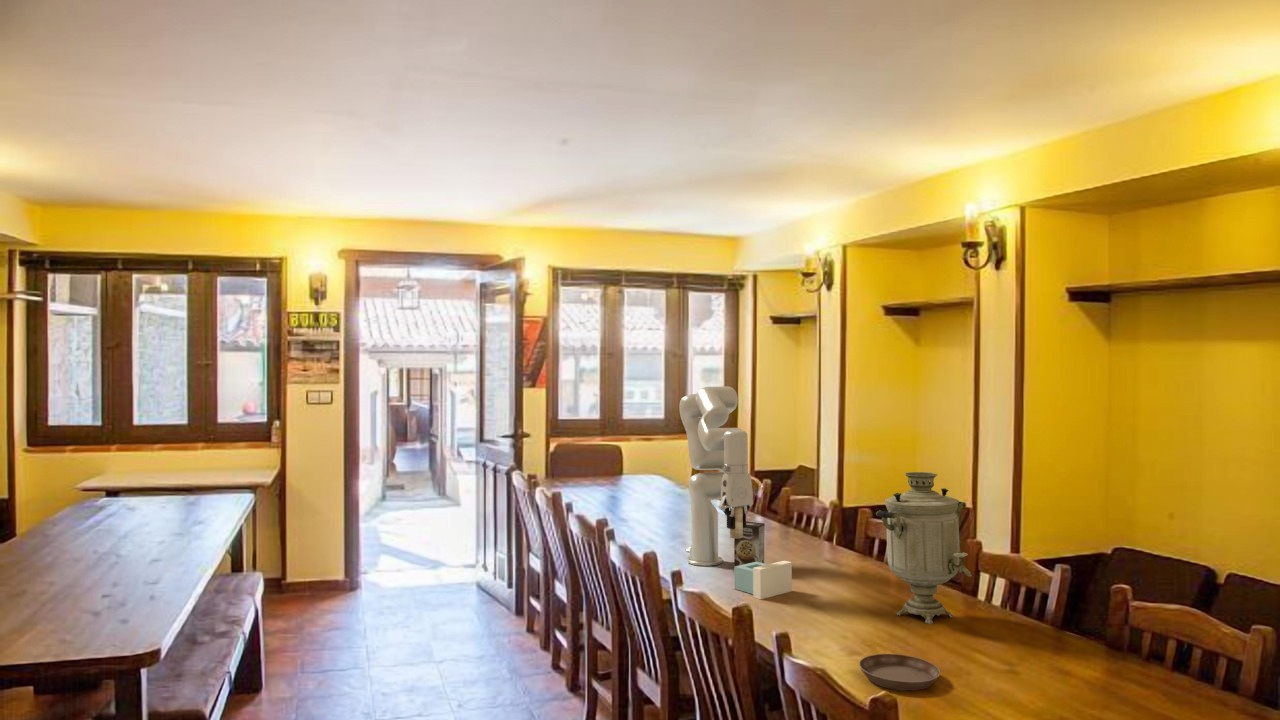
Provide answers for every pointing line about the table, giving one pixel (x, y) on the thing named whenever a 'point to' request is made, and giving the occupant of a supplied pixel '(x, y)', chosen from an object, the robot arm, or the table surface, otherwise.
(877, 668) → the plant saucer
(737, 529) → the dowel
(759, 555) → the coffee box
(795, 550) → the table surface
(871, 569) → the table surface
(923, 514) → the samovar
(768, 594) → the block
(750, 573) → the green square container
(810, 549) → the table surface
